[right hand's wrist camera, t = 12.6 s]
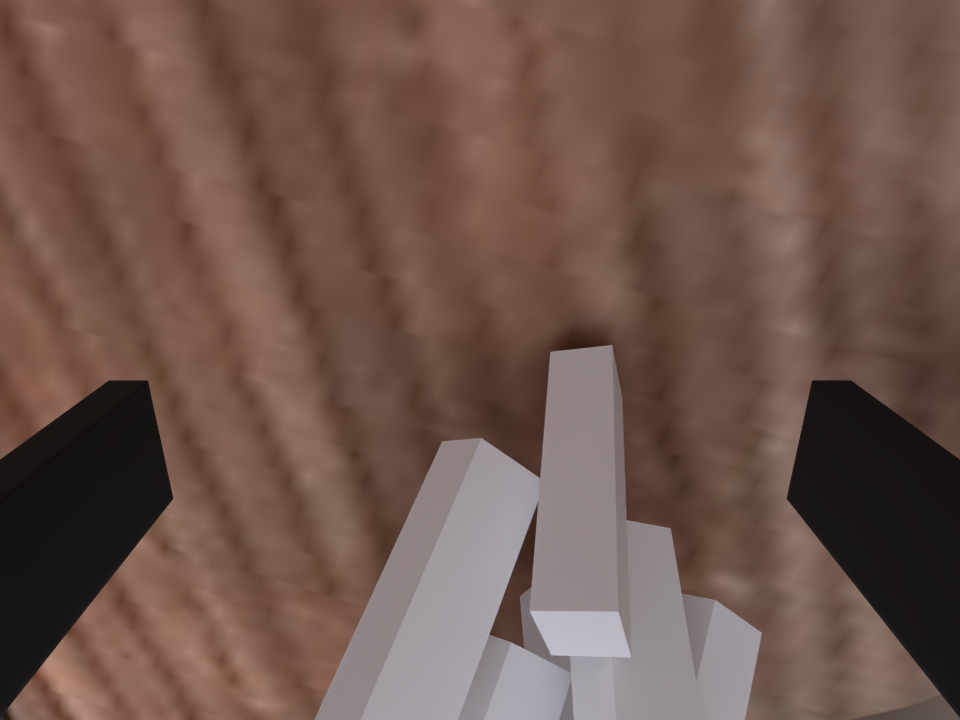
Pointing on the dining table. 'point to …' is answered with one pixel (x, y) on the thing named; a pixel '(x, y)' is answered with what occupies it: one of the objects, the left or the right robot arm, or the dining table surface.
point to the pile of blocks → (542, 589)
